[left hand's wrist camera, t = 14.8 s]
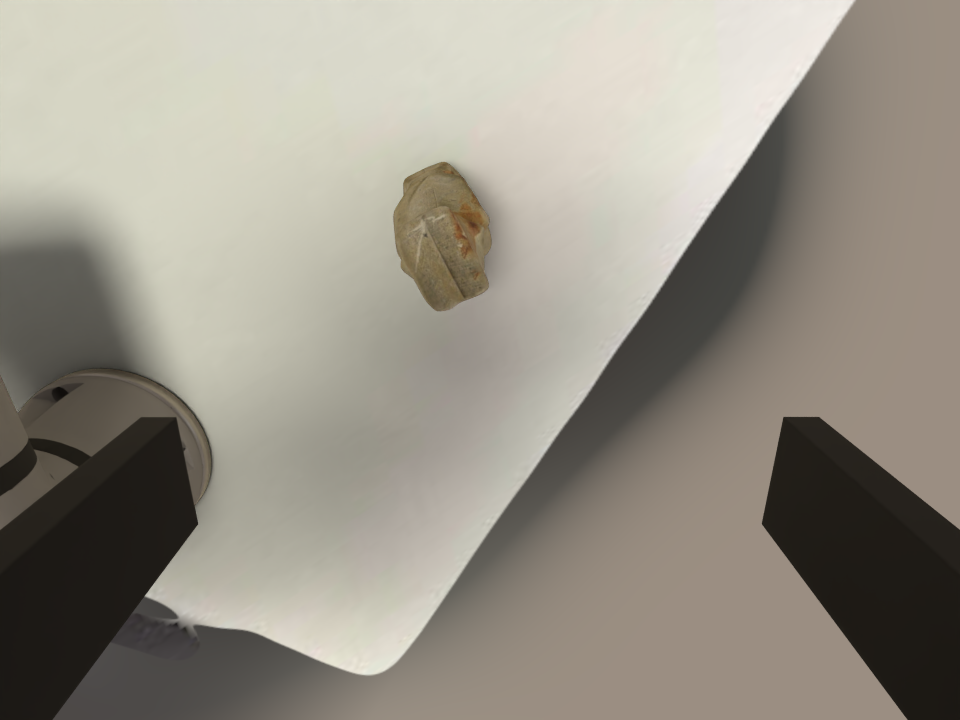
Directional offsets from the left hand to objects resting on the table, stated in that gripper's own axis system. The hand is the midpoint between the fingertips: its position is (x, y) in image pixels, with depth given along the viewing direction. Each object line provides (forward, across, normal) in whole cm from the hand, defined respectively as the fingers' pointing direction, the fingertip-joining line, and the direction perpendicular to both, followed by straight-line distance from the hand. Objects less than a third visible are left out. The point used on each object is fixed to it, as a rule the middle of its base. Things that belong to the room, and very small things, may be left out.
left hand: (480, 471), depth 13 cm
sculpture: (+33, +2, -2) cm, 33 cm away
